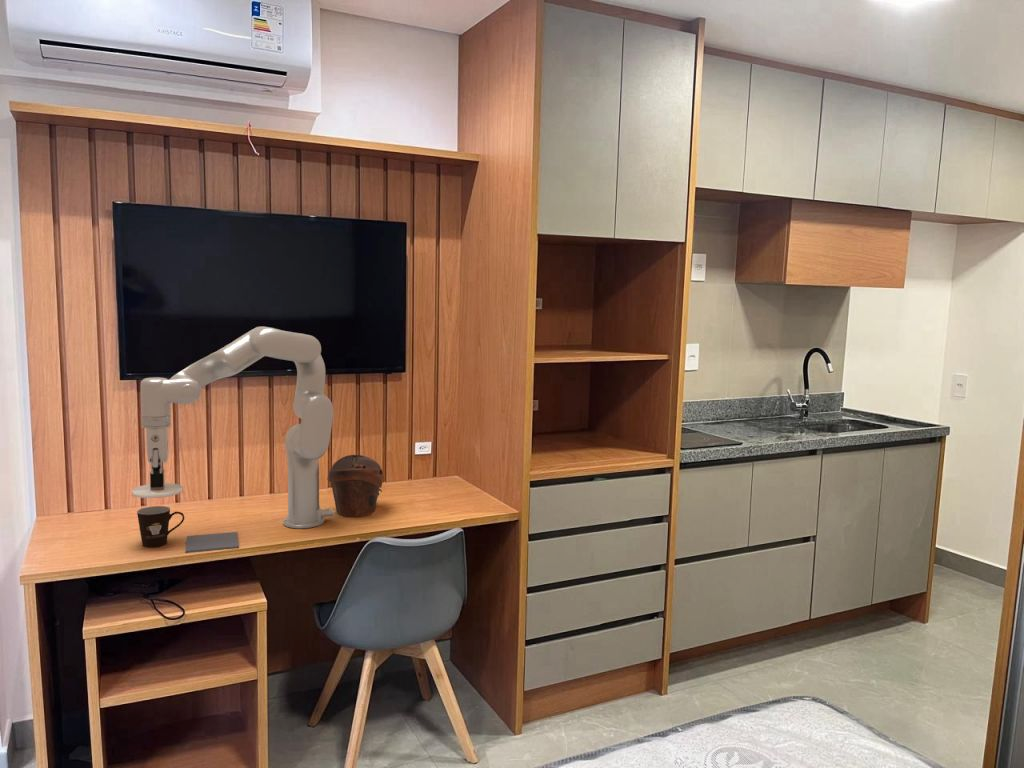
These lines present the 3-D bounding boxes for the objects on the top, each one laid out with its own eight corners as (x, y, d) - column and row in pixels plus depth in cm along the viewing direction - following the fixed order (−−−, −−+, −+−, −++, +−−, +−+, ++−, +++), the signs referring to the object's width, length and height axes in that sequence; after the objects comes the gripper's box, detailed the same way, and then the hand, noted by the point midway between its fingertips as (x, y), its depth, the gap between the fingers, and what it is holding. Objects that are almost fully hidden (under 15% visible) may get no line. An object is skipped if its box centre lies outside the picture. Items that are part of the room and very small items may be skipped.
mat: (237, 533, 233) (237, 531, 233) (238, 547, 220) (238, 546, 220) (187, 537, 228) (187, 535, 228) (185, 552, 215) (185, 551, 215)
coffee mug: (133, 549, 217) (131, 514, 216) (145, 539, 225) (144, 506, 224) (175, 549, 218) (174, 514, 216) (186, 539, 226) (185, 506, 225)
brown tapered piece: (356, 523, 245) (356, 467, 243) (315, 512, 257) (315, 459, 255) (396, 512, 259) (397, 460, 258) (356, 502, 271) (356, 451, 270)
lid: (183, 485, 228) (182, 465, 227) (181, 496, 216) (181, 475, 215) (134, 488, 223) (133, 467, 223) (130, 499, 211) (129, 478, 211)
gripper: (169, 426, 211) (170, 491, 213) (172, 416, 226) (173, 478, 228) (138, 426, 208) (140, 493, 210) (143, 417, 224) (145, 479, 226)
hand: (157, 484), depth 219 cm, fingers closed on lid, 3 cm apart
